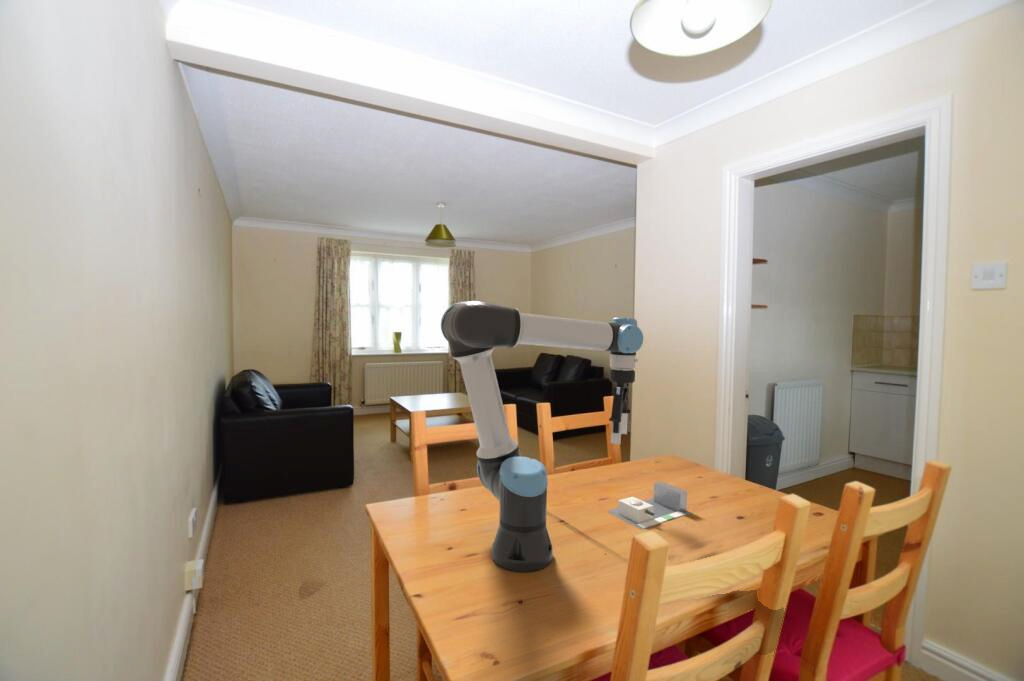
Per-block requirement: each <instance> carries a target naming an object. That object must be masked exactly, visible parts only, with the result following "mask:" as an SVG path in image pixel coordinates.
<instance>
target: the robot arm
mask: <svg viewBox="0 0 1024 681" xmlns="http://www.w3.org/2000/svg"><path fill="white" fill-rule="evenodd" d="M440 330H441V334H442V336H443V337H444V339H445V340H446V341H447V342H448V346H449V350H450V354H451V357H452V358H451V359H454V360H455V361H457V362H458V363H459V365H460V366H459V367H460V370H461V374H462V377H463V378H462V379H463V382H464V386H465V389H466V395H467V397H468V398H467V399H468V401H469V406H470V410H471V414H472V418H473V422H474V426H475V429H476V435H477V439H478V443H479V447H478V449H477V450H476V457H477V464H476V471H477V472H476V473H477V476H478V479H479V481H480V482H481V484H482V485H483V487H484V488H486V489H487V491H489V492H490V493H491V494H492V495H493V496H494V497H495V498H496V499H497V500H498V501H499V522H498V523H499V524H498V528H497V531H496V534H495V537H494V541H493V543H492V545H491V558H492V560H493V562H494V564H496V565H497V566H499V567H500V568H503V569H505V570H509V571H513V572H520V573H525V572H526V573H529V572H535V571H539V570H543V569H545V568H547V566H549V565H550V564H551V563H552V561H553V554H554V552H553V550H554V548H553V545H552V541H551V539H550V538H551V537H550V535H549V532H548V528H547V506H548V505H547V503H548V485H549V484H548V482H549V481H548V473H547V469H546V466H545V465H544V464H543V463H542V462H541V461H539V460H538V459H535V458H530V457H528V456H522V454H521V451H520V447H519V442H518V441H517V440H515V439H513V438H512V437H511V433H510V428H509V425H508V419H507V416H506V412H505V411H506V410H505V408H504V403H503V399H502V396H501V392H500V387H499V382H498V379H497V374H496V370H495V366H494V362H493V358H492V354H493V351H494V350H495V348H515V347H516V346H518V345H526V346H527V345H529V346H542V347H553V348H563V349H565V348H566V349H578V350H580V349H581V350H590V351H605V352H610V354H609V355H610V356H609V367H610V369H609V376H608V377H609V378H608V379H609V381H610V382H612V383H616V386H614V388H613V399H612V407H611V408H612V409H611V415H610V417H609V418H608V420H609V422H611V430H610V431H611V432H610V434H611V435H610V444H613V445H614V444H615V445H621V441H622V439H621V438H622V435H627V434H628V420H629V417H628V416H629V415H628V414H631V409H630V407H629V406H630V403H629V393H630V392H629V391H630V387H629V386H630V384H633V383H634V382H636V371H635V370H634V369H635V368H636V363H637V362H638V361H639V360H638V358H636V357H637V352H638V351H640V349H641V348H642V346H643V343H644V333H643V330H641V328H640V327H639V326H638V320H637V319H636V318H633V317H613V318H612V320H611V322H605V321H597V320H596V321H595V320H588V319H580V318H570V317H568V318H567V317H560V316H552V315H543V314H535V313H534V314H533V313H524V312H521V311H520V310H519V309H518V308H516V307H507V306H502V305H499V304H495V303H489V302H487V301H480V300H470V301H468V300H467V301H459V302H456V303H453V305H451V306H449V307H448V308H446V310H445V311H444V313H443V314H442V317H441V320H440Z"/></svg>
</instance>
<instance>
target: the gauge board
mask: <svg viewBox="0 0 1024 681" xmlns="http://www.w3.org/2000/svg"><path fill="white" fill-rule="evenodd" d="M653 500H654V497H652V498H647V499H645V500H643V501H644V502H646V503H648V504H651V505H653V513H654V516H653V519H652V520H649V521H646V522H642V523H639V524H638V523H636V522H634V521H632V520H630V519H628V518H626V517H624V516H622V515H620V514H618V507H616V508H612V509H609V510H606V513H608V514H610V515H612V516H615V518H618V519H621V520H622V521H624V522H626V523H628V524H629V525H632V526H633V527H635V528H637V529H639V530H645V529H648V528H652V527H654V526H657V525H659V524H660V525H661V524H664V523H666V522H670V521H672V520H676V519H678V518H681V517H685V516H687V515H690V514H693V512H691V511H689V510H686V511H684V512H677V511H674V510H672V509H670V508H667V507H665V506H663V505H661V504H658V503H656V502H654V501H653Z"/></svg>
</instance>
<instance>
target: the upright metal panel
mask: <svg viewBox="0 0 1024 681" xmlns="http://www.w3.org/2000/svg"><path fill="white" fill-rule="evenodd" d="M653 498H654V500H653V501H654V502H656V503H658V504H661V505H663V506H665V507H667V508H670V509H672V510H674V511H677V512H684V511H686V510H687V505H688V504H687V503H688V491H687V490H685V489H682V488H680V487H677V486H676V485H675V486H674V485H672V484H670V483H666V482H663V481H656V482H653ZM687 511H688V510H687Z"/></svg>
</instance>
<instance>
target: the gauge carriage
mask: <svg viewBox="0 0 1024 681" xmlns="http://www.w3.org/2000/svg"><path fill="white" fill-rule="evenodd" d="M617 508H618V514H620V515H622V516H624V517H626V518H628V519H630V520H632V521H634V522H636V523H638V524H639V523H642V522H646V521H649V520H652V519H653V516H654V513H653V505H651V504H648V503H646V502H644V500H642V499H640V498H637V497H635V496H630V497H626V498H621V499H619V500H618V507H617Z"/></svg>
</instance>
